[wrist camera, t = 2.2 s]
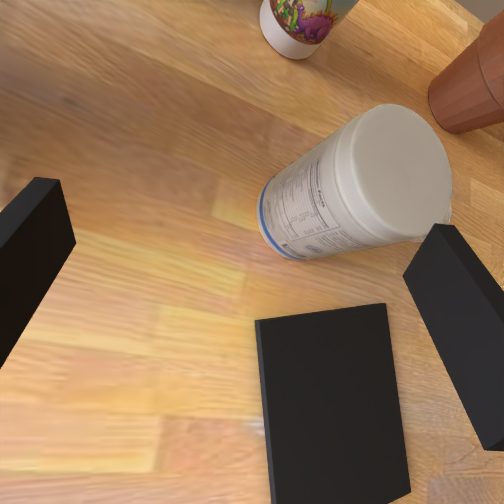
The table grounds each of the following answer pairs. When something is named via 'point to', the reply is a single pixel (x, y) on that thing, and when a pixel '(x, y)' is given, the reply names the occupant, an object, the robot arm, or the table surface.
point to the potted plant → (472, 83)
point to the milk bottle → (301, 23)
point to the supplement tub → (358, 188)
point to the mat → (332, 408)
